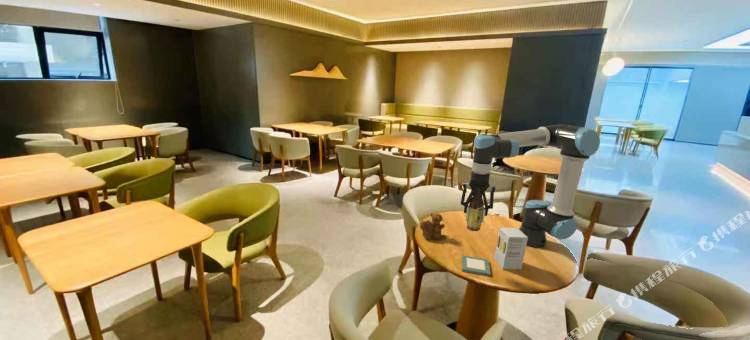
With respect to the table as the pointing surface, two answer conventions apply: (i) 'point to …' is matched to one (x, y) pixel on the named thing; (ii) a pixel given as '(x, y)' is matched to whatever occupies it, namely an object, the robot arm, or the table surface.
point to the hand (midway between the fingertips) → (474, 220)
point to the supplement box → (510, 248)
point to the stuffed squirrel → (433, 227)
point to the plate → (475, 265)
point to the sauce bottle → (475, 211)
